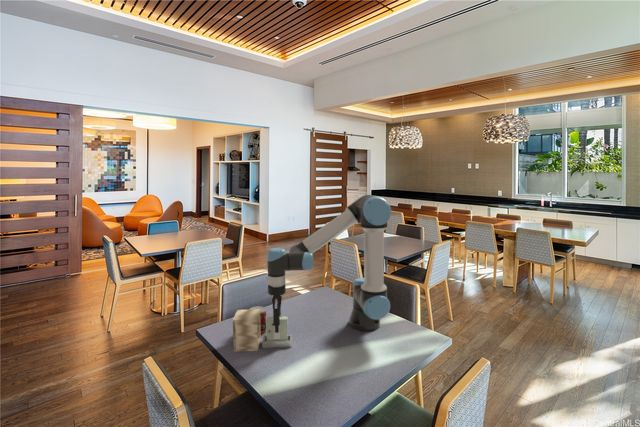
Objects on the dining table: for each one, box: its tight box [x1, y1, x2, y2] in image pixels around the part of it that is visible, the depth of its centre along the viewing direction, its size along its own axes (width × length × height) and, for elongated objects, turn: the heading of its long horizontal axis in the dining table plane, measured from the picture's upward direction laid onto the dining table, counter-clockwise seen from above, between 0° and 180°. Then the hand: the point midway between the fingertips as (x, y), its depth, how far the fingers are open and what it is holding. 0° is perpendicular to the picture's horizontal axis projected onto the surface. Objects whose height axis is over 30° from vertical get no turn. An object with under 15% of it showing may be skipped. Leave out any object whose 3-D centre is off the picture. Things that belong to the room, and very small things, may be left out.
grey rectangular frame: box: [261, 334, 293, 349], centre depth 143 cm, size 13×6×3 cm, turn 94°
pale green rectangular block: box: [266, 315, 289, 341], centre depth 142 cm, size 9×4×12 cm, turn 94°
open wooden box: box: [232, 308, 262, 352], centre depth 142 cm, size 10×10×14 cm
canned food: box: [248, 305, 267, 336], centre depth 154 cm, size 8×8×11 cm
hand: (277, 335), depth 143 cm, fingers open, 4 cm apart
